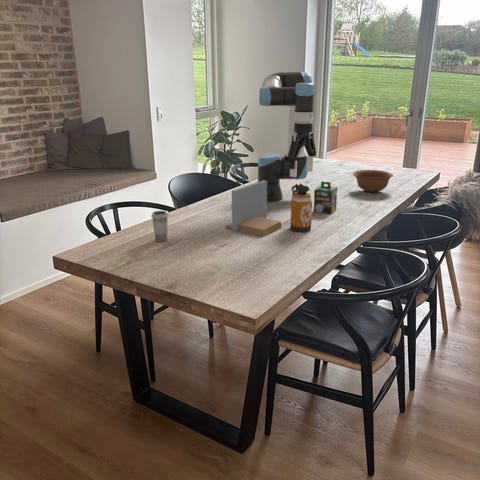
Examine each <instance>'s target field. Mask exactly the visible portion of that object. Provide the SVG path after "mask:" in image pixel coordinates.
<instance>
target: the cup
mask: <svg viewBox="0 0 480 480" xmlns="http://www.w3.org/2000/svg"><path fill="white" fill-rule="evenodd" d="M150 217H151V218H152V226H153V232H154V233H153V234H154V239H155V242H156V243H166V242H167V241H168V223H169V222H168V217H169V214H168V211H166V210H155V211H153V212H152V214H151V215H150Z"/></svg>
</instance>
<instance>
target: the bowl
mask: <svg viewBox="0 0 480 480" xmlns="http://www.w3.org/2000/svg"><path fill="white" fill-rule="evenodd" d="M352 175H353V177H355V179H356V182H357V186H358V187H359V189H361V190H363V193H364V194H367V195H378V194H380V192H381V191H383V190H385V189H386V188H387V186H388V185H389V181H390V179H391V178H393V177H394V174H393V173H391V172H388V171H385V170H377V169H359V170H356V171H354V172H352Z"/></svg>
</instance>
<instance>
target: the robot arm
mask: <svg viewBox="0 0 480 480" xmlns="http://www.w3.org/2000/svg"><path fill="white" fill-rule="evenodd" d="M258 90H259V94H258V97H259V99H258V102H259V103H258V104H259V105H260V106H263V107H274V106H277V107H282V106H283V107H288V127H287V129H288V130H287V151H286V152H285V153H284V156H282V157H281V155H280V154H279V153H269V154H264V155H262V156H259V158H258V160H257V161H258V162H257V182H260V181H263V180H264V181H267V202H277V201H281V200H283V194H284V193H283V191H282V188H281V183H280V180H296V181H298V180H304V179H306V178H307V176H308V172H313V170H314V169H313V167H314V157H316V156H317V149H316V144H315V138H314V132H313V128H314V127H313V125H314V124H313V123H312V122H313V121H314V102H315V98H314V97H315V84H314V83H313V78H312V75H311V74H310V72H306V71H288V72H283V71H280V72H279V71H278V72H275V73H272V74H270V75H268V76H267V77H265V78H264V80H263V81H262V84H261V87H260V88H259V89H258ZM305 151H306V152H305Z"/></svg>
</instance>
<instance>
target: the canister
mask: <svg viewBox="0 0 480 480" xmlns="http://www.w3.org/2000/svg"><path fill="white" fill-rule="evenodd" d="M308 191H311V190H310V188H309V186H308V185H304V184H303V183H299V184H298V183H296V184H295V185H293V186H292V187H291V192H292V193H291V195H292V197H291V201H290V202H291V204H290V207H291V208H290V226H289V227H290V229H291V230H293V231H294V232H307V231H310V230H312V220H313V219H312V215H313V201H312V195H311V193H309V192H308Z"/></svg>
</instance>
